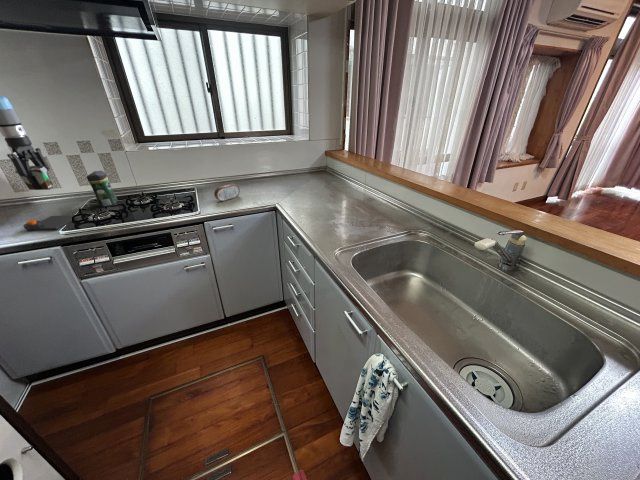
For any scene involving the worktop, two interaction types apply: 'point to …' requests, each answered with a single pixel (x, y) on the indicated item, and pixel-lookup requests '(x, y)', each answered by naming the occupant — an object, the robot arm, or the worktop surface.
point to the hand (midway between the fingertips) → (44, 187)
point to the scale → (49, 223)
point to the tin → (227, 192)
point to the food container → (38, 178)
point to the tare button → (31, 222)
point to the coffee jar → (102, 188)
